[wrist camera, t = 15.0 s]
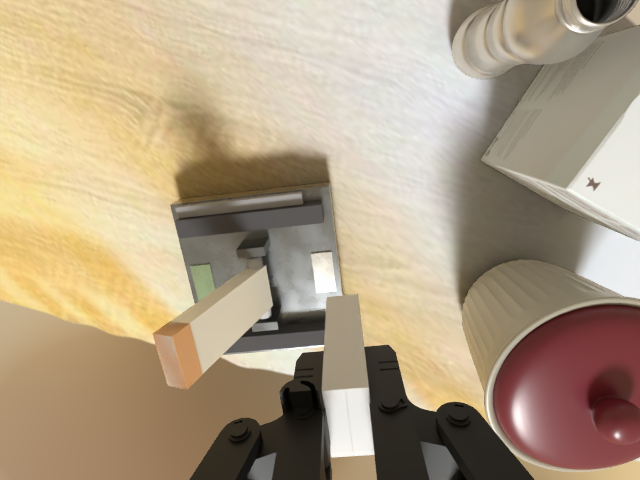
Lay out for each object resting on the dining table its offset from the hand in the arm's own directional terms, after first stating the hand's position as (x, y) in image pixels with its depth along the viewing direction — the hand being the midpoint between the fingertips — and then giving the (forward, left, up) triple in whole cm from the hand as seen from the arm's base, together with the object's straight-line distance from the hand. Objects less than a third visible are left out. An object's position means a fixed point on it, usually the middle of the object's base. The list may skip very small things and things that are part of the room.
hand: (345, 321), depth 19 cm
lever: (+8, -10, -23) cm, 26 cm away
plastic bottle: (-14, +16, -29) cm, 36 cm away
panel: (+8, -10, -28) cm, 31 cm away
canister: (+16, +20, -29) cm, 38 cm away
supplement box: (-4, +25, -29) cm, 38 cm away
